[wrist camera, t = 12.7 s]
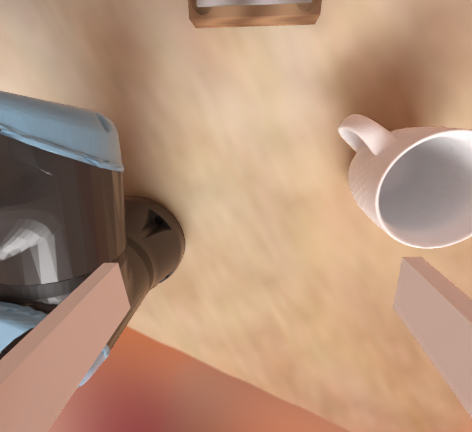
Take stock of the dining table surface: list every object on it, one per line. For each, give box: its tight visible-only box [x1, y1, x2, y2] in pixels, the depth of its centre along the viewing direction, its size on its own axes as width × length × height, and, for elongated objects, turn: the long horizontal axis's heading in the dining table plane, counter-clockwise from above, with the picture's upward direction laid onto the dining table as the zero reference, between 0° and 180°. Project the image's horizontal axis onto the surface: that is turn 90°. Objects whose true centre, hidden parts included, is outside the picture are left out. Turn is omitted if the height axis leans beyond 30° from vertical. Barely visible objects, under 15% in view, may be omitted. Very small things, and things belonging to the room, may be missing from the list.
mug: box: [338, 114, 472, 248], centre depth 28 cm, size 15×11×13 cm
